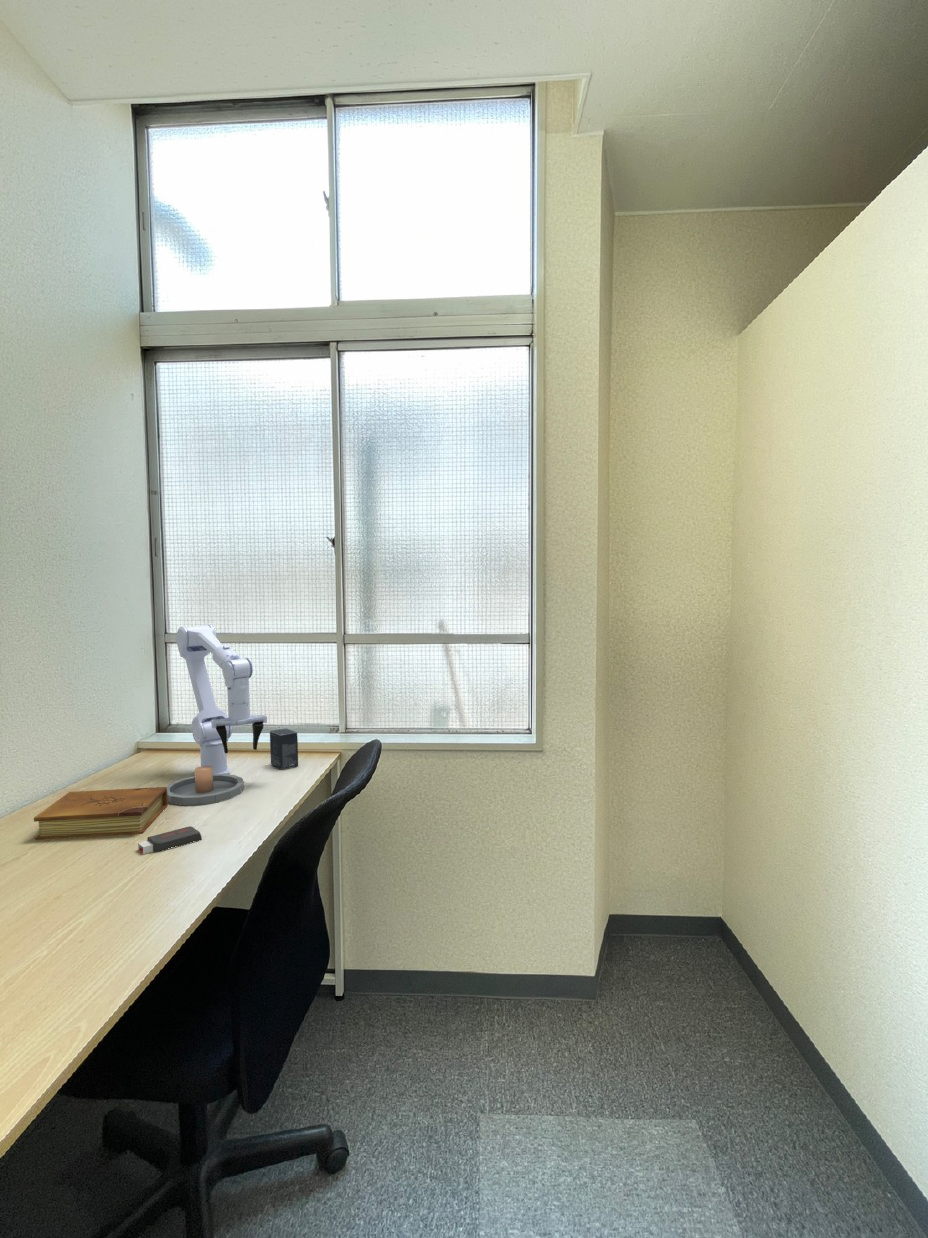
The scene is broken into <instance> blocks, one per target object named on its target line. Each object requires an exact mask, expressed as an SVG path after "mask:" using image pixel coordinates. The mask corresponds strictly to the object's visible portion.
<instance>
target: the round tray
mask: <svg viewBox="0 0 928 1238" xmlns="http://www.w3.org/2000/svg"><path fill="white" fill-rule="evenodd" d="M165 787H166V788H167V795H168V802H169V803H168V804H171V805H178V806H201V805H202V806H203V805H209V804H216V803H219V802H223V801H227V800H230V799H233V798H235V797H236V796H239V795H241V793H242V792H243V791H244V790H245V781H244V779H243V777H241V776H238V775H235V774H213V791H210V792H207V793H197V792H196V790H195V775H194V776H193V775H192V776H190V777H189V776H188V777H185V778H180V779H178V780H176V781H173V782H170V783H168V784H167V785H166V786H165Z"/></svg>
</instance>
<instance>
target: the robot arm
mask: <svg viewBox="0 0 928 1238" xmlns="http://www.w3.org/2000/svg"><path fill="white" fill-rule="evenodd" d="M175 639H176V647H177V648H178V649H177V651H178V652H179V656H180V657H181V658H183V659H185V664H186V667H187V671H188V675H189V679H190V682H191V687H192V690H193V694H194V699H195V702H196V707H197V710H198V713H197V714H196V716H194V718H192V721H191V726H192V739H193V741H194V742H195V743H196V744H198V745H199V753H200V767H201V766H211V767H212V768H213V774H229V775H231V773H230V769H229V767H228V761H227V759H228V758H227V757H228V756H227V755H228V753H229V751H228V742H229V739H230V738H231V736H232V734H233V726H243V725H252V726H251V727H252V736H253V737H252V748H253V751H257V750H258V744H259V739H260V736H261V734H262V732H263V730H264V728H265V727H264V724H267V723H268V716H267V714H260V715H259V714H256V715H253V714H252V715H251V703H250V680H249V679H250V678H251V677H252V676H253V671H254V670H253V663H252V662H251V660H250V659H249V657H240V655H238V653H236V652H235V651H234V650H233V649H232V647H230V645H228V644H227V645H226V644H224V645H223V644H222V643H221V642H220V640H219V639H218V638H217V633H216V629H215V628H214V626H213V625H211V624H207V625H195V626H180V627H178V629H177V630H176V636H175ZM210 653H211V654H212V661H214V663H215V664H216V665H217V666H218V667H219V668H220V669H221V671H222V676H223V679H224V686H225V687H227V688H226V689H227V690H226V691H227V712H228V713H227V712H225V711H224V710H221V709H220V708H218V707H217V704H216V699H215V697H214V694H213V693H214V692H213V688H212V686H211V682H210V678H209V674H208V670H207V666H206V663H205V657H207V656H208V655H209V654H210ZM227 714H228V715H227Z"/></svg>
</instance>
